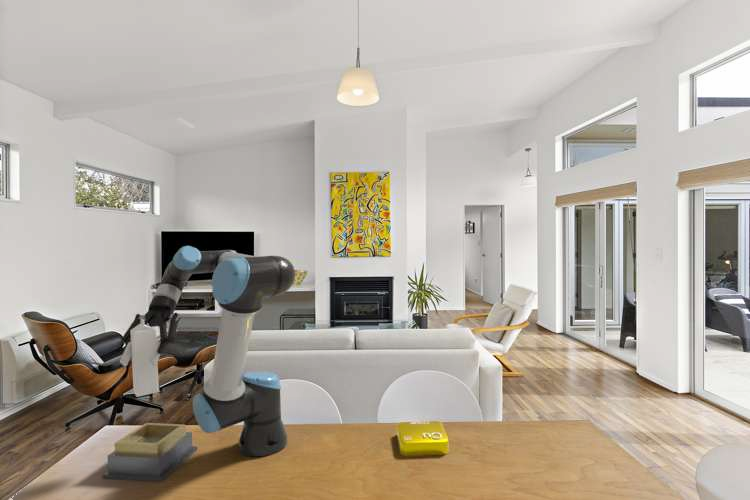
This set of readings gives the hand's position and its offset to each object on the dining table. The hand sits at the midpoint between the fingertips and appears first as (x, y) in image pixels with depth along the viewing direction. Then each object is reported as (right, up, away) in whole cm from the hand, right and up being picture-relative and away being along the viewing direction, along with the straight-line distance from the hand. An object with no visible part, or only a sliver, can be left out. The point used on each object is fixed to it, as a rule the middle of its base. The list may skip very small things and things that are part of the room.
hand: (137, 363), depth 125 cm
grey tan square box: (+3, -31, +3) cm, 31 cm away
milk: (+1, -10, +4) cm, 10 cm away
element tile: (+85, -29, +11) cm, 90 cm away
